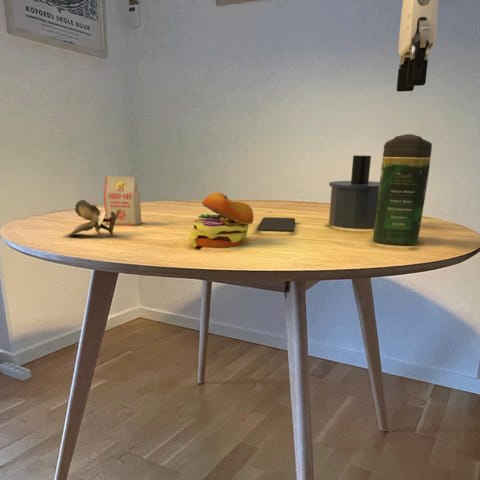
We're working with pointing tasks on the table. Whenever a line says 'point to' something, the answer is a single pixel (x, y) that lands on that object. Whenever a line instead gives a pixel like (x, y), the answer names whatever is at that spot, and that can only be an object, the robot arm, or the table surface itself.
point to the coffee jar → (402, 190)
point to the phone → (276, 224)
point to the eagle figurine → (93, 218)
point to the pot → (353, 208)
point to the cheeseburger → (221, 223)
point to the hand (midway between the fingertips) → (410, 88)
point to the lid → (358, 175)
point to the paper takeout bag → (122, 200)
